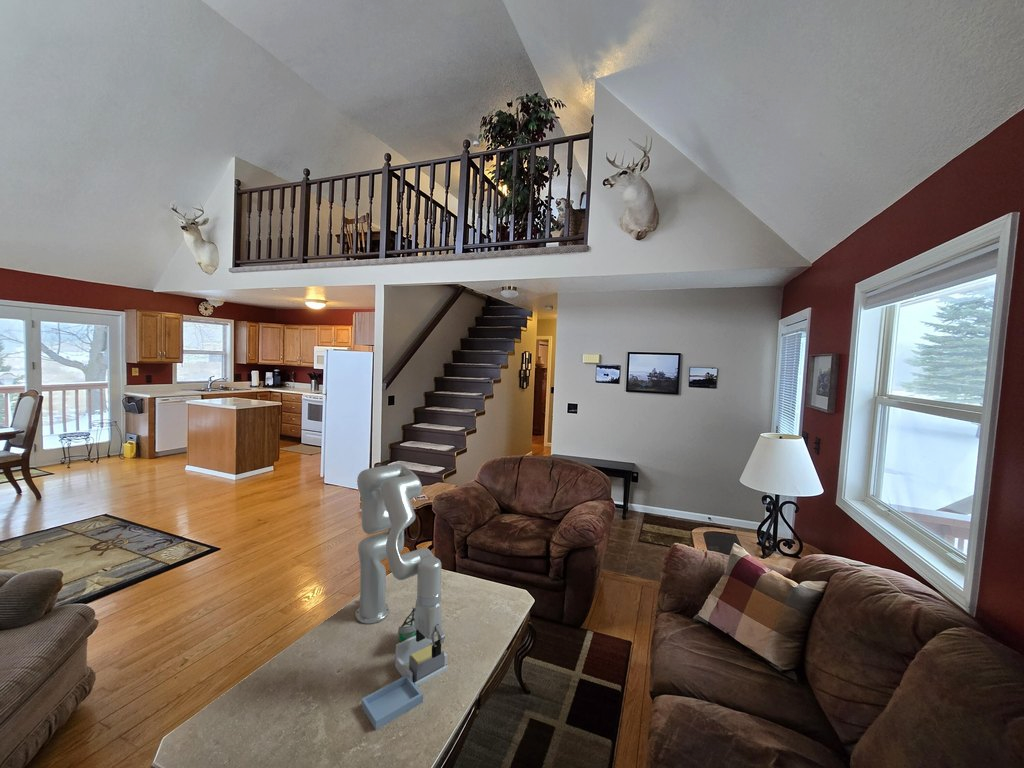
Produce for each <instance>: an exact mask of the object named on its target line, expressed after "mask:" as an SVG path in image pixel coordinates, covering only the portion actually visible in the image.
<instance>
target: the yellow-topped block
mask: <svg viewBox="0 0 1024 768" xmlns="http://www.w3.org/2000/svg"><path fill="white" fill-rule="evenodd" d="M432 645H433V644H432ZM432 645H429V646H427V647H425V648H423V649H421V650H419V651H417V652H415V653H413V654H411V656H409V663H408V668H409V669H410V671H411V672H412V673H413V675H412V681H414V683H415V682H417V681H418V680H420V679H422V678H424V677H426V676H428V675H429V674H431V673H433V672H435V671H437V670H439V669H440V668H442V667H444V652H445V651H444V650H443V649H442V648H441V654H440V655H438V656H436V657H434V658H432Z"/></svg>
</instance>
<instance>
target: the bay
mask: <svg viewBox="0 0 1024 768" xmlns="http://www.w3.org/2000/svg"><path fill="white" fill-rule="evenodd" d="M432 644H433V643H432V640H431V639H427V638H426V637H425V639H423V640H421V641H419V642H417V641H416V636H413V637H411V638H409V639H407V640H405V641H403V642H401V643H399V642H398V643H396V644H395V660H394V661H395V662H394V663H395V669H396V670H397V671H398V673H399V674H400V675H401V676H402V677H404V676H406V675H408V676H409V678H410V679H411V680H412V681H413V679H412V675H413V673H412V672H411V671H410V669H409V666H407V663H408V664H409V656H411V654H413V653H415V652H417V651H419V650H421V649H423V648H425V647H427V646H429V645H432ZM405 664H406V665H405ZM446 664H447V665H446ZM444 665H445V666H444V667H442V668H440V669H439V670H437V671H435V672H433V673H431V674H429V675H428V676H426V677H424V678H422V679H420V680H418V681H417V682H415V681H414V684H415V685H416V686H417V687H418V688H419V687H420V686H421V685H423V684H425V683H427V682H428V681H430V680H432V679H435V678H436V677H437V676H439V675H442V674H443V673H445V672H447V671H448V670H449V665H448V654H447V653H446V652H445V651H444Z"/></svg>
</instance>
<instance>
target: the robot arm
mask: <svg viewBox="0 0 1024 768" xmlns="http://www.w3.org/2000/svg"><path fill="white" fill-rule="evenodd" d="M357 475H358V476H357V488H358V492H359V495H360V499H361V504H360V505H361V506H360V507H361V527H362V530H363V532H364V533H365V534H367V535H370V536H367V537H365V538H363V539H362V540H361V541H359V543H358V544H357V554H358V558H359V560H358V561H359V566H360V567H359V569H360V570H359V572H360V573H359V575H360V576H359V577H360V578H359V607H358V608H357V609H356V611H355V619H356V621H358V623H359V622H360V623H362V624H367V625H369V624H376V623H379V622H382V621H383V620H385V619H386V618H387V617H388V615H389V614H390V607H389V605H388V604H387V603H386V588H387V587H386V586H387V585H386V583H387V579H386V578H387V571H386V566H385V565H384V564H383V563H382V562H381V560H384V559H386V560H387V562H388V566H389V569H390V572H391V574H392V576H393V577H394V578H395V579H396V580H398V581H403V580H406V579H409V578H412V577H414V576H417V580H416V581H417V585H416V586H417V587H416V588H417V589H416V590H417V591H416V597H417V598H416V601H415V606H414V608H415V611H414V625H415V628H416V629H417V630H416V641H417V642H419V641H421V640H423V639H425V637H426V638H427V639H431V640H432V643H433V645H432V658H434V657H436V656H438V655H440V654H441V649H442V645H443V643H444V640H445V638H446V635H445V634H444V632H443V624H442V623H443V620H442V618H443V617H442V607H441V606H442V605H441V600H442V596H441V595H442V562H441V560H440V559H439V558H437V557H435V555H434V554H433V552H432V551H431V550H430V549H429V548H427V547H420V548H417V549H415V550H412V551H409V552H406V553H402V551H403V550H404V546H405V529H407V528H408V527H409V526H410V525H411V524H413V523H414V522H415V520H416V513H415V510H414V508H413V504H412V501H411V499H414V498H415V499H416V498H418V497H420V495H421V494H422V492H423V486H422V483H421V480H420V477H418V475H417V474H415V472H413V471H412V470H410V469H409V468H408V467H407V466H405V464H402V463H393V464H387V465H381V466H380V465H379V466H375V467H371V468H366V469H363V470H362V471H360V473H359V474H357ZM387 530H388V531H387ZM401 553H402V554H401ZM435 637H437V640H436V639H435Z"/></svg>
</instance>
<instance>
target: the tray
mask: <svg viewBox="0 0 1024 768" xmlns="http://www.w3.org/2000/svg"><path fill="white" fill-rule="evenodd" d="M413 681H414V680H413V679H412V680H411V679H410V678H409V676H408V675H406V676H404V677H403V676H402V677H399V679H396V680H395V681H392V682H390V683H389V684H387V685H385V686H383V687H382V688H381V687H380V688H379V689H377V690H375V691H374V692H372V693H370V694H368V695H366V696H364V697H362V698H361V709H362V710H363V712H364V713H365V715H366V717H367V718H368V719H369V722H370V723H371V725H372V726H373V727H374V729H375V731H376V730H378V729H380V728H382V727H384V726H386V725H387V724H389V723H390V722H393V721H394V720H395V719H397V718H399V717H401V716H402V715H404V714H406V713H408V712H409V711H410V710H412V709H414V708H416V707H417V706H419V705H421V704H423V703H424V694H423V692H422V691H421V689H419V686H418V687H417V686H416V685H415V682H413Z"/></svg>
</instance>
